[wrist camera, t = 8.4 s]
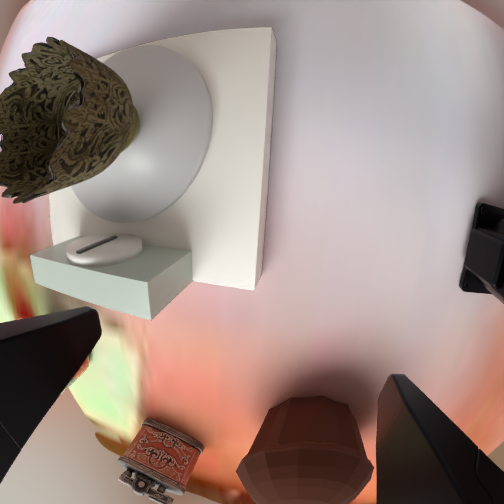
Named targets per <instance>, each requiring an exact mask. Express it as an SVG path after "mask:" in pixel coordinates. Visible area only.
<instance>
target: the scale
mask: <svg viewBox="0 0 504 504" xmlns="http://www.w3.org/2000/svg"><path fill="white" fill-rule="evenodd" d="M276 47H277V43H276V40H275V36H274V33H273V30H272V27H258V28H238V29H226V30H216V31H208V32H200V33H194V34H188V35H182V36H177V37H171V38H167V39H162V40H158V41H153V42H149V43H145V44H141V45H138V46H134V47H131V48H127V49H124V50H121V51H118V52H114V53H111V54H108V55H106V56H103V57H100V58H97V60H99V61H100V62H102V63H103V64H105V65H106V66H108V67H109V68H111V69H112V70H113V71H115V72H116V73H117V74H118V75H119V76H120V77H121V78H122V79H123V81H124V82H125V83H126V85H127V87H128V89H129V91H130V94H131V97H132V101H133V105H134V106H135V108H136V109H137V111H138V114H139V119H140V124H139V130H138V134H137V136H136V138H135V140H134V141H133V143H132V144H131V145H130V146H129V147H128V148H127V149H126V150H124V151H123V152H121V153H120V155H119V156H118V157H117V159H116V160H115V161H114V162H113V163H112V164H111V165H110V166H109V167H108V168H106V169H105V170H104V171H103V172H101V173H100V174H98V175H96V176H94V177H92V178H90V179H88V180H86V181H83V182H81V183H78V184H75V185H73V186H70V187H67V188H64V189H61V190H58V191H55V192H52V193H49V205H50V220H51V231H52V240H53V246H51V247H48V248H46V249H43V250H41V251H38V252H36V253H33V254H31V255H30V258H31V264H32V269H33V275H34V279H35V283H36V284H39V285H41V286H44V287H47V288H49V289H52V290H55V291H57V292H60V293H63V294H66V295H69V296H72V297H75V298H77V299H80V300H83V301H87V302H90V303H93V304H96V305H99V306H102V307H106V308H109V309H112V310H116V311H119V312H122V313H126V314H129V315H133V316H137V317H140V318H144V319H148V320H152V319H153V318H154V317H155V316H156V315H157V314H158V313H159V312H160V311H161V310H163V309H164V308H165V307H166V306H167V305H168V304H169V303H170V302H171V301H172V300H173V299H174V298H175V297H176V296H177V295H178V294H179V293H180V292H181V291H182V290H183V289H184V288H185V287H186V286H188V285H189V284H190V283H191V282H192V281H196V282H202V283H208V284H215V285H221V286H228V287H234V288H241V289H248V290H255V288H256V286H257V284H258V282H259V280H260V278H261V272H262V260H263V247H264V234H265V220H266V206H267V192H268V178H269V163H270V148H271V133H272V117H273V101H274V84H275V66H276Z"/></svg>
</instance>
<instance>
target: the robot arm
mask: <svg viewBox="0 0 504 504" xmlns="http://www.w3.org/2000/svg"><path fill="white" fill-rule="evenodd" d="M481 208H483V211H482V213H481ZM466 282H467V284H466V286H464V285H465V283H466ZM459 286H460V288H461V289H462V290H463V291H465V292H474V293H486V294H493V295H494V296H495V297H496V298H498V299H499V300H500V301H501V302H502V303H503V304H504V209H501V208H498V207H495V206H491V205H488V204H484V203H478V204H477V205H476V208H475V215H474V222H473V227H472V231H471V236H470V241H469V245H468V250H467V254H466V259H465V263H464V268H463V272H462V276H461V280H460V283H459ZM101 334H102V330H101V325H100V320H99V315H98V312H97V311H96V310H95V309H93V308H90V307H81V308H76V309H71V310H66V311H61V312H56V313H51V314H46V315H41V316H36V317H30V318H25V319H20V320H14V321H9V322H4V323H0V483H1V482H2V480H3V478H4V477H5V475H6V473H7V472H8V470H9V468H10V467H11V465H12V464H13V462H14V461H15V459H16V457H17V456H18V454H19V453H20V451H21V449H22V448H23V446H24V445H25V443H26V442H27V440H28V439H29V437H30V436H31V434H32V433H33V432H34V430H35V429H36V427H37V426H38V424H39V423H40V422H41V420H42V419H43V417H44V416H45V415H46V413H47V412H48V410H49V409H50V408H51V406H52V405H53V403H54V402H55V401H56V399H57V398H58V397H59V396H60V394H61V393H62V392H63V390H64V389H65V388H66V386H67V385H68V384H69V382H70V381H71V380H72V379H73V377H74V376H75V375H76V373H77V372H78V371H79V369H80V368H81V366H82V365H83V363H84V362H85V360H86V359H87V357H88V355H89V354H90V352H91V351H92V349H93V348H94V346H95V345H96V343H97V342H98V340H99V339H100V337H101ZM376 466H377V504H504V472H503V471H502V470H501V469H500V468H499V467H498V466H497V465H496V464H495V463H494V462H493V461H492V460H490V459H489V458H488V457H487V456H486V455H485V454H484V453H483V451H482V450H481V449H478V447H477V446H476V445H475V444H474V442H473V441H472V440H471V439H470V438H469V437H468V436H467V435H466V434H465V433H464V432H463V431H462V430H461V429H460V428H459V427H458V426H457V425H456V424H455V423H454V422H452V421H451V420H450V419H449V418H448V417H447V416H446V415H445V414H444V413H443V412H442V411H441V410H440V409H439V408H438V407H437V406H436V405H435V404H434V403H433V402H432V401H431V400H430V399H429V398H428V397H427V396H426V395H425V394H424V393H423V392H422V391H421V390H420V389H419V388H418V387H417V386H416V385H415V384H414V383H413V382H412V381H411V380H410V379H409V378H407V377H406V376H405V375H403V374H391V375H390V376H389V377H388V379H387V381H386V383H385V385H384V387H383V389H382V391H381V393H380V395H379V399H378V418H377V437H376Z"/></svg>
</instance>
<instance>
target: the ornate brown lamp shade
mask: <svg viewBox="0 0 504 504" xmlns="http://www.w3.org/2000/svg"><path fill="white" fill-rule="evenodd" d="M46 42H47V43H36V44H34V45H33V48H32V51H31V52H29V53H23V54H22V59H23V61H24V63H25V67H26V68H23V69H18V70H15V71H12V72H10V73H9V76H10V77H11V79H12V80H13V81H15V82H13V83H12V85H10V86H9V87H7V88H5V90H4V91H3V92H2V93H1V94H0V135H1V134H2V135H3V140H2V135H1V141H0V147H1V149H2V151H1V152H0V186H5V187H7V189H6V190H5V191H4V192H3V193H2V196H1V197H5V198H12V197H15V196H18V197H17V198H16V199H15V200H14V201H13V203H14V204H16V203H21V202H22V203H26V202H28V201H30V200H32V199H34V198H37V197H40V196H43V195H46V194H49V193H52V192H55V191H58V190H61V189H64V188H67V187H70V186H73V185H75V184H78V183H81V182H83V181H86V180H88V179H90V178H92V177H94V176H96V175H98V174H100V173H101V172H103V171H104V170H105V169H106V168H108V167H109V166H110V165H111V164H112V163H113V162H114V161H115V160H116V159H117V157H118V156H119V155H120V153H121V152H123V151H124V150H126V149H127V148H128V147H129V146H130V145H131V144H132V143H133V141H134V140H135V138H136V136H137V134H138V130H139V124H140V119H139V114H138V111H137V109H136V108H135V106H134V105H133V101H132V97H131V94H130V91H129V89H128V87H127V85H126V83H125V82H124V81H123V79H122V78H121V77H120V76H119V75H118V74H117V73H116V72H115V71H113V70H112V69H111V68H109V67H108V66H106V65H105V64H103V63H102V62H100V61H99V60H97V59H95V58H94V57H92V56H90V55H88V54H87V53H85V52H83V51H81V50H79V49H77V48H76V47H74V46H72V45H70V44H68V43H66V42H65V41H63V40H60V41H59V40H58V39H56V38H53V37H47V39H46Z"/></svg>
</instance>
